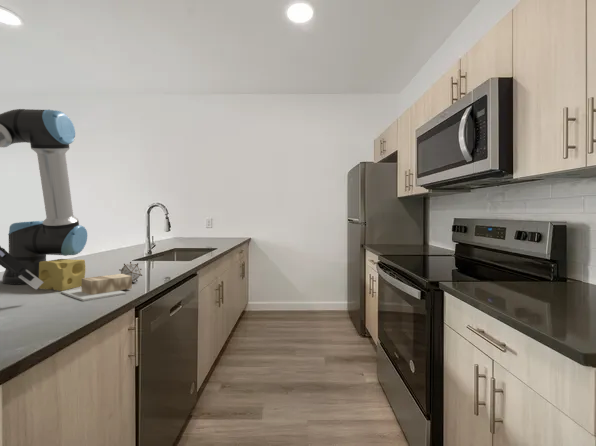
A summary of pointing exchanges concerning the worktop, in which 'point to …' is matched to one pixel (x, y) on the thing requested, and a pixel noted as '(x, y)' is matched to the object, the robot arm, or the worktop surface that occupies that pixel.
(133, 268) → the game die
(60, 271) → the cheese
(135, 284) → the worktop surface
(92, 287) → the maple block
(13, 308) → the worktop surface
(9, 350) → the worktop surface
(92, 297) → the rubber mat
